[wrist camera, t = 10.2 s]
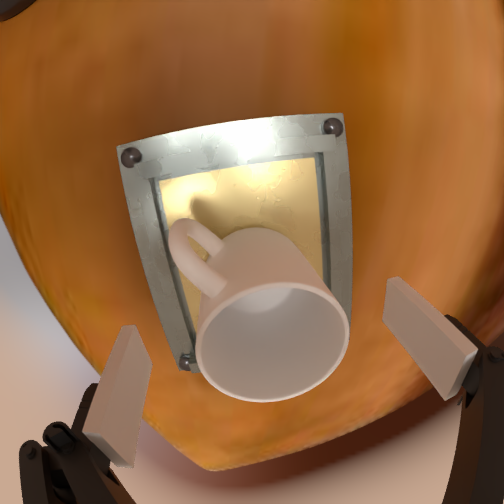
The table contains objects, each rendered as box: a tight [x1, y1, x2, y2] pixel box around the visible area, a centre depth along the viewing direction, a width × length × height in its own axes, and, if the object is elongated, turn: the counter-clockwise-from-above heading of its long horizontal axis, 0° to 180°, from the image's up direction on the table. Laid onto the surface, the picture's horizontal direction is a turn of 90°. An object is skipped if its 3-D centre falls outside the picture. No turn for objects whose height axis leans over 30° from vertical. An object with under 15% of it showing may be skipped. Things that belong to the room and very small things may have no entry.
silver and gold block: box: [116, 113, 353, 373], centre depth 24 cm, size 22×18×8 cm
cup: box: [168, 218, 349, 402], centre depth 18 cm, size 8×12×10 cm
